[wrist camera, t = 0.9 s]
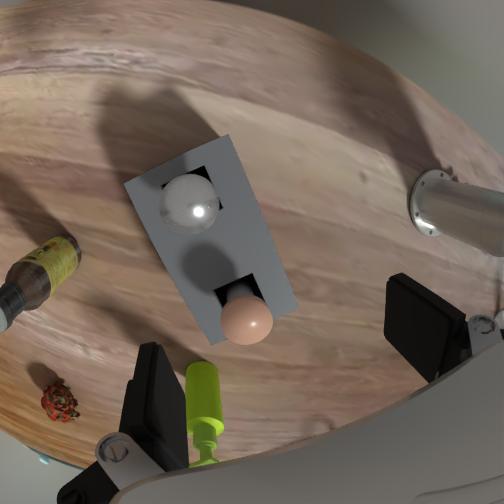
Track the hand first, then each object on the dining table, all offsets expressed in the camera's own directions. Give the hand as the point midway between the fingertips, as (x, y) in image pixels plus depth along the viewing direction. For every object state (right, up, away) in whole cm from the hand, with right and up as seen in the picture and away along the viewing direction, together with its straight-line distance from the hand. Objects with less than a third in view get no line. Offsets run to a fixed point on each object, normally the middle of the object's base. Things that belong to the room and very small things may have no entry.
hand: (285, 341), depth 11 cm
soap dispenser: (-11, -19, +38) cm, 44 cm away
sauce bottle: (-30, +3, +27) cm, 41 cm away
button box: (-7, +7, +30) cm, 31 cm away
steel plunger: (-8, +10, +20) cm, 24 cm away
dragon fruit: (-42, -27, +36) cm, 62 cm away
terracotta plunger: (-3, -1, +25) cm, 25 cm away
